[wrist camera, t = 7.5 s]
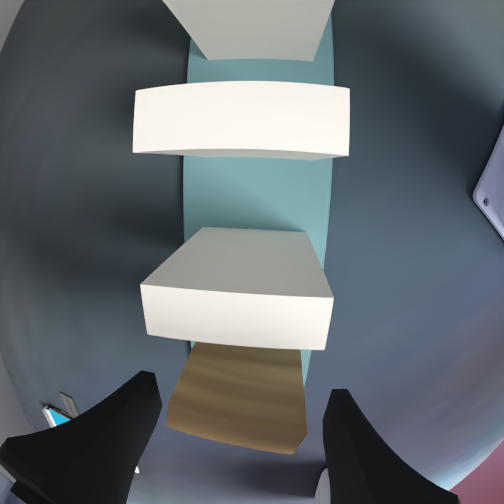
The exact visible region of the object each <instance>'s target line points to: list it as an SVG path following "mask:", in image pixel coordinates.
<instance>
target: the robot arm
mask: <svg viewBox="0 0 504 504" xmlns="http://www.w3.org/2000/svg"><path fill="white" fill-rule="evenodd" d="M484 198H485V204H483V201H484ZM473 200H474V202H475V203H476V204H477V205H478V207H479V208H480V209H481V210H482V212H483V213H484V214H485V216H486V217H487V218H488V219H489V221H490V222H491V223H492V225H493V226H494V227H495V229H496V230H497V231H498V233H499V234H500V236H501V237H502V239H503V240H504V125H503V128H502V130H501V133H500V135H499V138H498V140H497V143H496V145H495V148H494V150H493V152H492V154H491V157H490V159H489V161H488V163H487V165H486V167H485V170H484V172H483V174H482V176H481V178H480V180H479V182H478V184H477V186H476V188H475V190H474V192H473ZM161 408H162V402H161V398H160V394H159V390H158V386H157V381H156V377H155V373H152V372H147V371H140V372H139V373H138V374H136V375H135V376H134V377H133V378H131V379H130V380H129V381H128V382H126V383H125V384H124V385H123V386H121V387H120V388H119V389H117V390H116V391H115V392H113V393H112V394H111V395H109V396H108V397H107V398H105V399H104V400H103V401H101V402H100V403H98V404H97V405H95V406H94V407H92V408H91V409H89V410H88V411H86V412H84V413H82V414H81V415H79V416H77V417H75V418H73V419H71V420H69V421H67V422H64V423H62V424H59V425H57V426H55V427H52V428H49V429H46V430H43V431H40V432H36V433H32V434H28V435H22V436H16V437H9V438H7V439H6V441H5V442H4V443H3V444H2V446H1V447H0V464H1V465H2V466H3V467H4V468H5V469H6V470H7V471H8V472H9V473H10V474H11V475H12V476H13V477H14V478H15V479H16V482H15V483H13V482H11V481H10V480H9V479H8V478H7V477H6V476H4V475H3V474H2V473H0V504H126V501H127V497H128V493H129V490H130V486H131V483H132V479H133V476H134V473H135V470H136V467H137V465H138V462H139V460H140V458H141V456H142V454H143V452H144V449H145V447H146V445H147V443H148V441H149V439H150V437H151V435H152V433H153V430H154V428H155V426H156V424H157V421H158V418H159V414H160V411H161ZM323 443H324V450H325V456H326V463H327V469H328V476H329V483H330V504H461V503H460V500H459V498H458V496H457V495H455V494H453V493H451V492H449V491H447V490H445V489H443V488H441V487H439V486H437V485H436V484H434V483H432V482H431V481H429V480H427V479H426V478H425V477H423V476H422V475H420V474H419V473H418V472H416V471H415V470H414V469H412V468H411V467H410V466H409V465H408V464H406V463H405V462H404V461H403V460H402V459H401V458H400V457H399V456H398V455H397V454H396V453H395V452H394V451H393V450H392V449H391V448H390V447H389V446H388V445H387V444H386V443H385V441H384V440H383V439H382V438H381V437H380V436H379V434H378V433H377V432H376V430H375V429H374V428H373V427H372V425H371V424H370V422H369V421H368V420H367V418H366V417H365V416H364V414H363V413H362V411H361V410H360V408H359V407H358V405H357V404H356V402H355V400H354V399H353V397H352V396H351V394H350V392H349V391H348V390H347V389H332V391H331V395H330V398H329V401H328V405H327V408H326V411H325V414H324V417H323Z"/></svg>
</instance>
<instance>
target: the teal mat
mask: <svg viewBox="0 0 504 504" xmlns="http://www.w3.org/2000/svg"><path fill="white" fill-rule="evenodd" d="M221 81H277V82H295V83H308V84H319V85H328V86H334V60H333V36H332V20H331V12H330V15H329V18H328V21H327V23H326V26H325V29H324V32H323V35H322V37H321V40H320V43H319V46H318V49H317V52H316V54H315V57H314V60H313V62H311V61H300V60H283V59H224V60H207V58H206V57H205V55H204V54H203V53H202V51H201V50H200V48H199V47H198V46H197V44H196V43H195V42H194V40H193V39H192V38H191V41H190V51H189V62H188V74H187V84H190V83H203V82H221ZM332 161H333V158H326V159H319V160H312V161H311V160H297V159H280V158H256V157H198V156H186V155H184V165H183V206H184V244H185V243H186V242H187V241H188V240H189V239H190V238H191V237H192V236H194V235H195V234H196V233H197V232H198V231H199V230H200V229H202V228H203V227H215V228H238V229H259V230H278V231H295V232H307V234H308V236H309V238H310V241H311V243H312V245H313V248H314V250H315V253H316V255H317V257H318V260H319V262H320V265H321V267H322V269H323V268H324V260H325V251H326V241H327V231H328V220H329V208H330V195H331V180H332ZM194 343H195V341H191V348H193V346H194ZM300 351H301V361H302V372H303V384H304V386H305V381H306V376H307V371H308V366H309V360H310V355H311V350H304V349H300Z"/></svg>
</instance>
